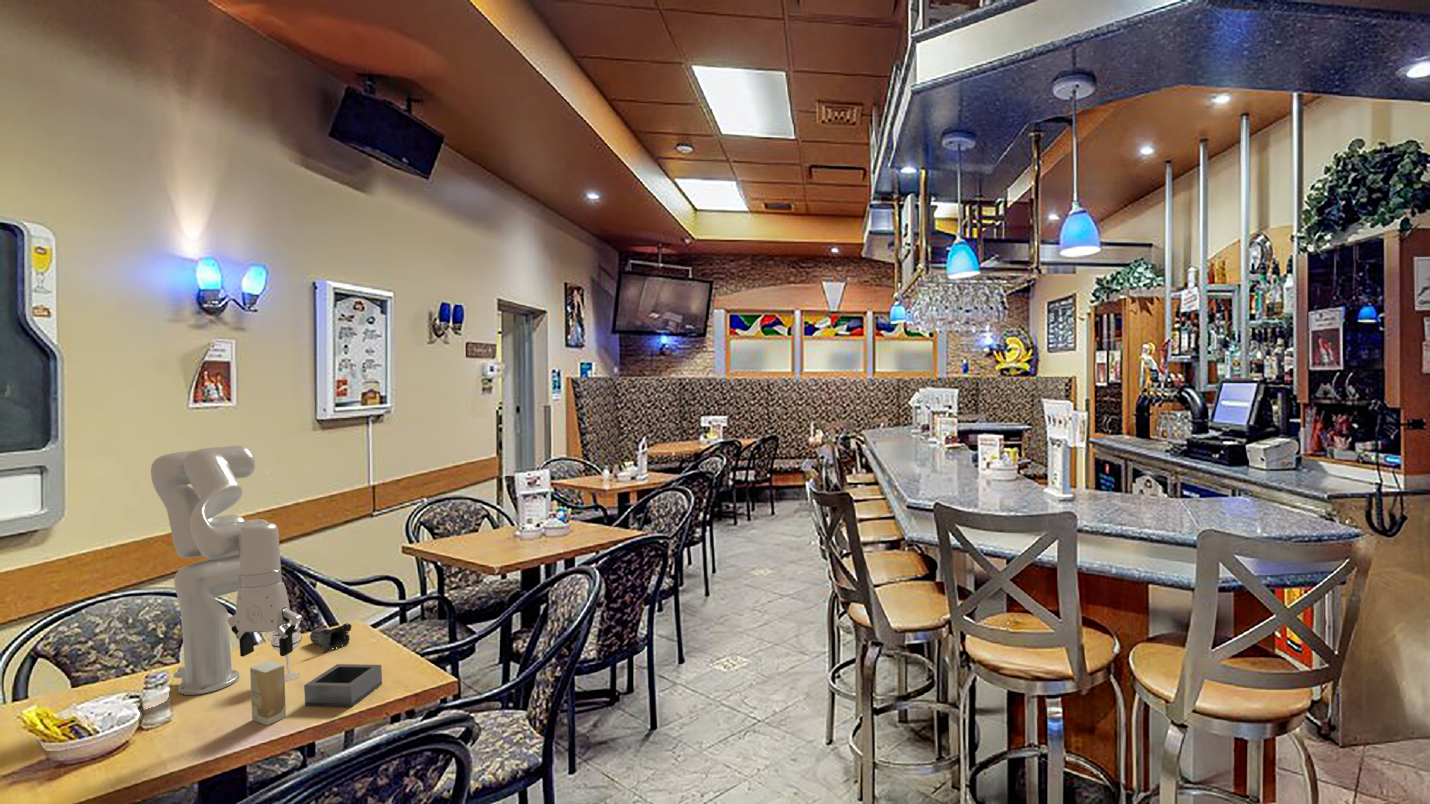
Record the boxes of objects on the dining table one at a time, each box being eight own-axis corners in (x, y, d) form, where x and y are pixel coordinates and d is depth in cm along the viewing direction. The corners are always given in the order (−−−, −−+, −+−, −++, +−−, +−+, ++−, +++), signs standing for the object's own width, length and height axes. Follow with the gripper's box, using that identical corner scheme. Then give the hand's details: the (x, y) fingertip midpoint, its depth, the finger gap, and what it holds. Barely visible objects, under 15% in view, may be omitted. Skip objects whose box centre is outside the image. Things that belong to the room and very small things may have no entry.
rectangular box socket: (305, 706, 161) (304, 685, 160) (338, 683, 172) (337, 664, 172) (352, 707, 159) (350, 686, 159) (382, 684, 171) (381, 664, 171)
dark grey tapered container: (350, 650, 198) (327, 645, 204) (352, 622, 199) (329, 618, 206) (318, 655, 191) (295, 650, 197) (321, 626, 192) (298, 622, 198)
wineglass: (309, 671, 180) (307, 626, 180) (291, 683, 174) (288, 636, 173) (285, 671, 181) (283, 626, 181) (266, 682, 174) (264, 636, 174)
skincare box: (251, 720, 155) (248, 667, 154) (271, 711, 158) (268, 659, 158) (267, 726, 152) (264, 672, 151) (287, 717, 155) (284, 664, 155)
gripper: (212, 584, 151) (218, 661, 151) (284, 583, 149) (289, 660, 149) (240, 575, 158) (245, 648, 159) (308, 573, 156) (313, 647, 157)
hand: (266, 654), depth 154 cm, fingers open, 9 cm apart
